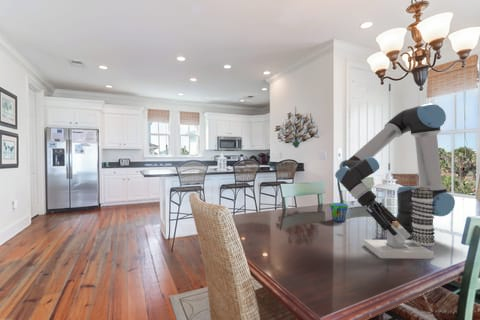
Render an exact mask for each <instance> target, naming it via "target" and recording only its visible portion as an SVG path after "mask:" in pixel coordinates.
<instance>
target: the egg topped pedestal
mask: <svg viewBox="0 0 480 320" xmlns="http://www.w3.org/2000/svg"><path fill="white" fill-rule="evenodd" d="M392 226H394V227H395V228H396V229H397V231H398V232H399V233H400V234H401V235H402V236H403V237H404V228H403V227H400V226H399V222H397V221H392V224H391V227H392ZM386 240H387V244H388V245H389V246H391V247H393V248H404V242H402V243H401V244H400V243H399V242H398V241H397V240H396V239H395V238H394V237H393V236H392V235H391V233H390V232H389V231H388V230H386Z"/></svg>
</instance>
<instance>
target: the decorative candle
mask: <svg viewBox="0 0 480 320" xmlns="http://www.w3.org/2000/svg"><path fill="white" fill-rule="evenodd" d="M411 201H412V202H411V203H410V205H411V206H410V208H411V209H412V210H411V213H412V214H411V216H412V220H413V221H412V226H411V228H413V229H411V231H410V232H411V234H410V235H411V236H410V238H411V241H413V242H415V243H417V244H419V245H421V246H424V247H425V246H427V247H428V246H429V247H430V246H431V247H432V246H434V245H436V244H435V243H434V242H435V238H436V237H435V235H434V234H435V232H434V231H436V229H435V228H434V227H435V226H434V220H433V219H435V216H433V215H432V214H435V213H434V212H432V211H434V210H435V209H434V208H432V206H435V204H432V203H434V202H435V201H433V192H432V191H431V190H430V189H429V188H423V187H416V188H414V189H413V190H412V200H411ZM412 207H413V208H412Z"/></svg>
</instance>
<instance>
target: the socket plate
mask: <svg viewBox="0 0 480 320" xmlns="http://www.w3.org/2000/svg"><path fill="white" fill-rule="evenodd" d="M363 246H364V247H366V248H367V249H368V250H369V251H371V252H372V253H374V254H375V255H376V256H377V257H378V258H379V259H413V260H414V259H421V260H423V259H424V260H425V259H429V260H431V259H435V252H434V251H432V250H430V249H428V248H426V247H425V246H424V245H420V244H417V243H415V242H413V241H412V239H406V240H405V241H404V248H393V247H391V246H389V245H388V244H387V239H363Z"/></svg>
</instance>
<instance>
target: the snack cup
mask: <svg viewBox="0 0 480 320" xmlns="http://www.w3.org/2000/svg"><path fill="white" fill-rule="evenodd" d="M329 207H330V211H331V218H332V221H334V222H341V223H342V222H346V220H347V213H348V208H349V205H348V204H347V203H343V202H342V203H341V202H333V203H332V202H331V203H330V204H329Z"/></svg>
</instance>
